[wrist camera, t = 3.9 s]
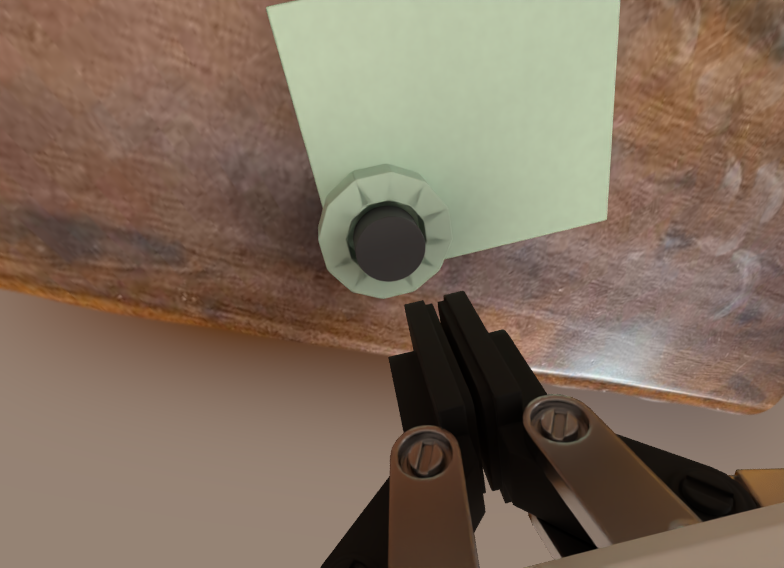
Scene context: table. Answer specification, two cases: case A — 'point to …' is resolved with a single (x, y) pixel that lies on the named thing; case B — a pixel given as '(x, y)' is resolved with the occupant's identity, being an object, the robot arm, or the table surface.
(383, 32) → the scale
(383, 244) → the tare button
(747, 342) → the table surface
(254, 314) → the table surface
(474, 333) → the robot arm
